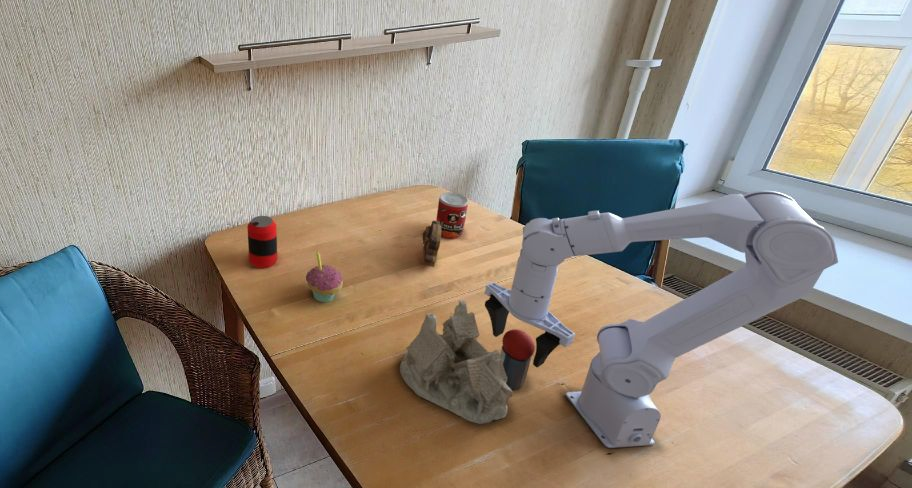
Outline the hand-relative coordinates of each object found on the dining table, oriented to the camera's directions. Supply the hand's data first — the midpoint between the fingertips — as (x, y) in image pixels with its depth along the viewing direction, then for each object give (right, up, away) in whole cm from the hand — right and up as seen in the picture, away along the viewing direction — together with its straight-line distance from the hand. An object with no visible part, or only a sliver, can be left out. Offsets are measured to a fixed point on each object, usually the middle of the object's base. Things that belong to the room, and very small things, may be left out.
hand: (517, 348), depth 76 cm
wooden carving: (-2, +6, +37) cm, 38 cm away
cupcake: (-32, +1, +25) cm, 40 cm away
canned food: (+8, +11, +49) cm, 51 cm away
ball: (0, +1, 0) cm, 1 cm away
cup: (0, -7, +3) cm, 7 cm away
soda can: (-46, +6, +38) cm, 60 cm away
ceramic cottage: (-11, -8, +2) cm, 14 cm away
